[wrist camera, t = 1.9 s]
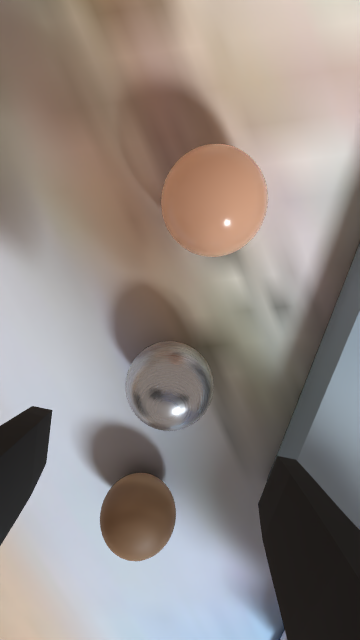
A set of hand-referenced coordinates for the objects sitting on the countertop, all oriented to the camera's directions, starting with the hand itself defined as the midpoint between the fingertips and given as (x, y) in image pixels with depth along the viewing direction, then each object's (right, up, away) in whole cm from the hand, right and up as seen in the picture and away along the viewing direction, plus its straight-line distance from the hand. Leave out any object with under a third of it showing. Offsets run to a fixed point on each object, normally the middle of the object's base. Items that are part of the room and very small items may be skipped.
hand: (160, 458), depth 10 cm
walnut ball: (-2, -6, +7) cm, 9 cm away
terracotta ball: (+2, +9, +2) cm, 9 cm away
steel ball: (0, +1, +5) cm, 5 cm away
